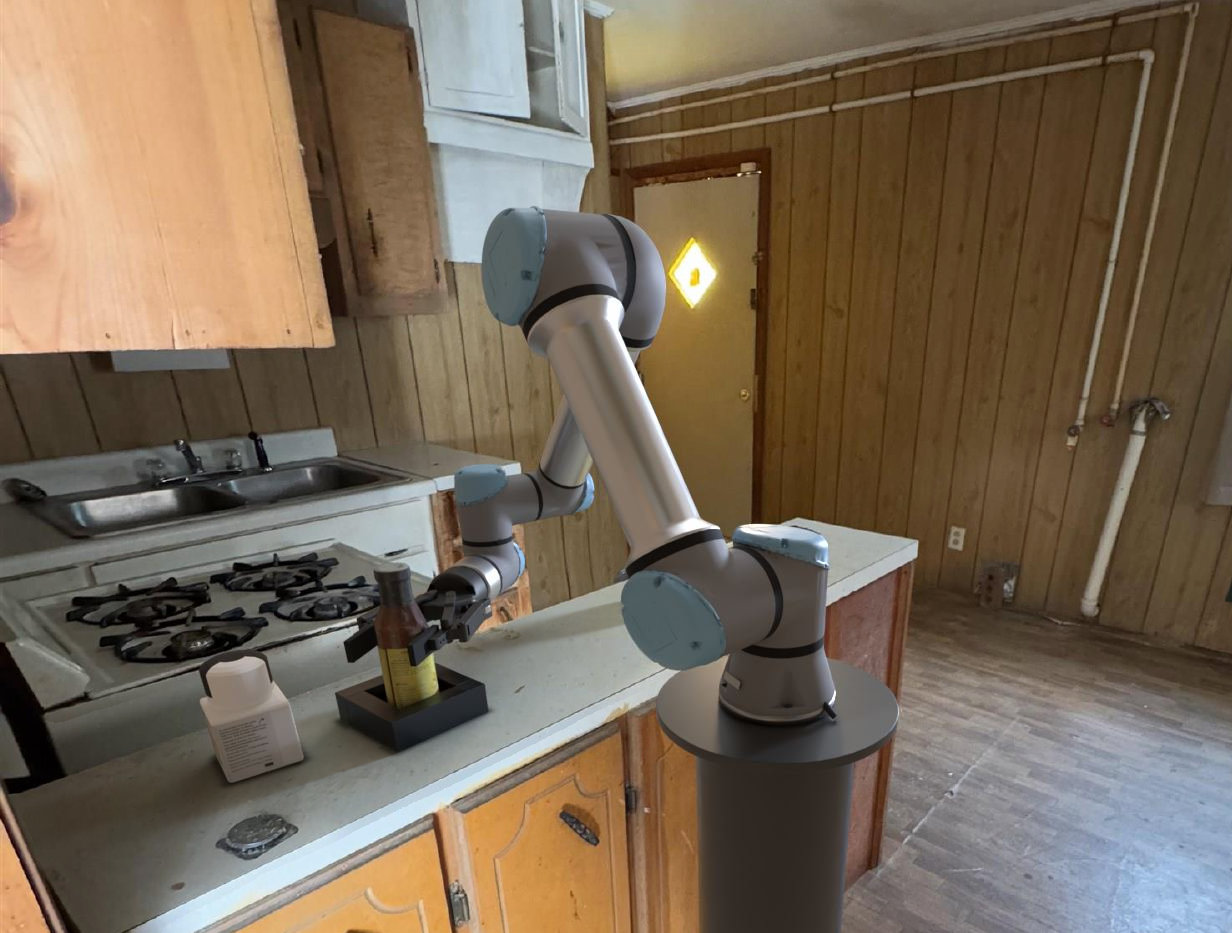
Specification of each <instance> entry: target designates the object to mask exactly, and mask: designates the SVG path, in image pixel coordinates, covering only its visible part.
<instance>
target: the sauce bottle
mask: <svg viewBox="0 0 1232 933" xmlns="http://www.w3.org/2000/svg"><path fill="white" fill-rule="evenodd" d="M372 571H373V578H374V580H375V582H376V583H377V588H378V589H377V590H378V595H379V598H378V600H379V603H380V604H379V606H380V609H379V612H378V614H377V616H376V619H375V622H374V624H375V631H376V635H377V642H378V643H377V646H376V647H377V652H378V658H379V662H380V669H381V673H382V674H381V675H383V679H384V684H385V690H386V695H387V701H388V704H390V705H392V706H394V707H396V708H398V709H401V708H403V707H406V706H408V705H411V704H413V703H416V702H418V701H420V700H423V699H425V698H428V697H430V696H433V695H435V694H437V693H439V687H438V681H437V674H436V668H435V663H436V661H435V656H434V652H433V653H432V654H431V655H429V656H428V657H427V658H426V659H425V660H424V661H422V662H421V663H420V664H419V665H418V666H417V667H414V666H410V661H409V656H408V650H407V644H409V643H410V642H411V641H413V640H414V639H415V638H416V637H418V636H419V635H420V634H421V633H423V632H424V631H425V630H427V629H428V628H429V627H430V625H429V623H427V622H426V620H425V618H424V616H423V614H422V613H421V611H420V609H419V607H418V605H417V603H416V601H415V600H414V598H415V596H414V593H413V588H412V582H411V577H412V571H411V567H410V565H409V564H408V563H406V562H400V561H399V562H398V561H397V562H396V561H395V562H386V563H381V564H378V565H376V566H374V567H373V570H372Z"/></svg>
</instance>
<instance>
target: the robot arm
mask: <svg viewBox="0 0 1232 933" xmlns="http://www.w3.org/2000/svg"><path fill="white" fill-rule="evenodd" d="M481 253H482V254H481V264H480V270H481V271H480V272H481V273H480V274H481V285H482V291H483V295H484V299H485V302H486V306H487V308H488V310H489V312H490V313H491V315H492V317H494V319H495V320H496V321H498V322H500V323H502V324H503V325H507V326H508V327H517V326H519V328H520V330H521V332H522V334H523V336H524V339H525V341H526V343H527V346H528V348H529V350H530V351H531V352H532V353H533V354H534V355H535V356H538V357H540V358H544V359H546V360H548V361H549V363H550V366H551V367H552V369H553V372H554V374H555V377H556V379H557V381H558V383H559V386H560V388H561V390H562V393H563V394H562V397H561V400H560V402H559V406H558V409H557V411H556V415H555V416H554V421H553V423H552V426H551V429H550V432H549V435H548V439H547V440H546V444H545V447H544V449H543V452H542V455H541V458H540V460H539V463H538V465H537V468H536V470H534V471H528V472H521V473H516V474H509V475H507V474H506V470H505V468H504V467H503V466H501V465H498V464H493V463H491V464H490V463H488V464H487V463H484V464H483V463H482V464H471V465H466V466H462V467H460V468H458V469H456V471H455V472H454V475H453V483H454V484H453V486H454V500H455V501H454V502H455V506H456V511H457V516H458V522H459V528H460V534H461V542H462V543H461V544H462V551H463V552H462V553H463V557H462V558H461V559H459V560H457V561H456V562H455V563H453V564H451V565H450V566H449V567H447V568H446V569H444V570H443V571H442V572H440V573H439V574H437V575H436V576H434V578H433V579H432V580H431V581H430V583H429V585H428V587H427V589H426V591H425V592H423V593H421V594H418V595H417V596H416V597H414V600H415V601H416V603H417V605H418V607H419V609H420V611H421V613H422V614H423V616H424V618H425V620H426V622H427V624H429V623H430V622H432V621H434V622H437V621H439V623H440V625H439V624H432V625H429V628H428V629H427V630H425V631H424V632H423V633H421V634H420V635H419V636H418V637H416V638H415V639H414V640H413V641H411V642H410V643H409V644H407V650H408V656H409V661H410V666H414V667H417V666H418V665H419V664H420V663H421V662H422V661H424V660H425V659H426V658H427V657H428V656H429V655H431V654H432V653H433V654H434V652H436V651H440V650H441V649H442V648H443V647H444V646H446V645H449V644H450V645H451V644H453V643H454V640H455V641H456V640H458V642H459V643H463V644H465V643H468V642H469V641H470V640H471V639H472V637H473V636H474V635H475V633H477V631H478V630H479V628H480V627H481V626H482V624H483V623H484V622H485V621H486V620H488V619H490V618H492V617H493V608H492V602H493V601H494V600H495V599H496V598H498V597H499V596H500V595H502V594H503V593H504V592H506V591H507V590H508V589H509V588H512V587H513V585H515V584H516V582H517V581H518V579H519V578H520V576H521V575H522V574H523V572H524V569H525V567H526V558H525V554H524V553H523V551H522V549H521V548H520V546H519V545H518V544H517V543H516V542H515V541H514V536H513V535H514V534H513V526H518V525H522V524H528V523H533V522H536V521H542V520H548V519H553V518H558V517H562V516H563V517H565V516H572V515H574V514H576V513H578V512H582V511H585V510H587V509H588V508H589V507H591V505H592V504H593V502H594V499H595V495H594V491H595V484H594V480H593V477H592V476H591V474H590V471H591V468H592V466H593V465H594V467H595V469H596V472H597V473H598V476H599V478H600V481H601V483H602V485H603V487H604V490H605V492H606V495H607V497H608V499H609V502H610V504H611V506H612V508H613V510H614V513H615V515H616V517H617V520H618V522H619V526H620V527H621V529H622V531H623V534H624V536H625V539H626V541H627V543H628V545H629V548H630V552H629V554H628V557H627V560H626V562H625V564H624V570H625V573H626V575H627V577H628V580H627V581H626V582H625V583H624V585H623V587H622V589H621V594H620V603H621V604H622V605H623V606H622V608H621V609H620V611H621V616H622V620H623V623H624V625H625V628H626V631H627V633H628V635H629V636H630V638H631V640H632V641H633V643H634V644H635V645H636V647H637V648H638V650H639V651H640V652H642V654H643V655H645V657H647V658H648V659H649V660H650V661H652V662H653V663H657V664H658V665H659V666H660V667H662V668H664V669H667V670H669V671H670V670H671V671H678V672H680V671H682V670H688V669H691V668H694V667H697V666H700V665H708V664H710V663H712V662H715V661H717V660H718V659H720V658H722V657H724V656H726V655H729V654H730V655H729V658H728V660H727V663H726V666H725V669H724V672H723V674H722V677H721V680H720V685H719V703H720V706H721V707H722V708H723V710H724V711H725V712H726V713H728V714H729V715H731V716H732V717H734V718H736V719H738V720H741V721H744V722H747V723H750V724H754V725H759V726H766V727H794V726H801V725H805V724H809V723H812V722H815V721H818V720H820V719H822V718H824V717H825V716H827V715H829V716H830V717H831V719H834V718H835V717H836V716H837V714H836V713H835V712H834V710H833V707H834V703H835V687H834V683H833V680H832V677H831V673H830V669H829V665H828V662H827V658H828V657H827V655H826V652H825V648H824V647H825V646H824V645H825V630H826V629H825V628H826V616H827V614H826V612H827V598H828V583H829V582H828V579H829V570H830V568H831V566H830V565H829V544H828V542H827V540H826V539H825V538H824V536H822V535H821V534H819V533H816V532H815V531H812V530H809V529H804V528H800V527H795V526H788V525H779V524H767V523H752V524H751V523H749V524H742V525H739V526H737V527H735V529H734V530H733V536H732V537H731V542H732V546H731V547H729V546H728V544H727V542H726V539H725V537H724V534H723V533H722V530H721V528H720V527H719V526H718V525H716V524H714V523H710V522H708V521H706V520H704V519H703V518H701V516H700V514H699V511H698V509H697V507H696V505H695V503H694V500H693V498H692V496H691V493H690V491H689V488H688V487H687V486H688V485H687V484H686V482H685V480H684V477H683V474H682V473H681V470H680V467H679V466H678V463H677V461H676V458H675V456H674V454H673V452H672V450H671V447H670V445H669V443H668V440H667V438H666V436H665V434H664V433H665V432H664V431H663V429H662V426H661V424H660V422H659V420H658V417H657V415H656V413H655V410H654V408H653V405H652V404H651V401H650V399H649V397H648V394H647V393H646V389H645V387H644V385H643V383H642V380H641V378H640V376H639V374H638V371H637V369H636V367H635V364H636V362H637V360H638V358H639V355H640V353H641V351H643V350H646V349H649V348H650V347H651V346H652V344H653V343H654V339H655V337H656V336H657V333H658V330H659V328H660V325H661V323H662V320H663V315H664V310H665V307H666V296H667V295H666V294H667V281H666V280H667V279H666V273H665V268H664V264H663V261H662V258H661V255H660V253H659V250H658V248H657V247H656V245H655V243H654V242H653V240H652V239H651V238H650V237H649V235H648V234H647V233H646V231H645V230H644V229H642V227H640V226H639V225H637V224H636V223H635V222H633V221H631V220H630V219H628V218H625V217H623V216H619V215H615V214H609V213H603V214H602V213H601V214H599V213H589V212H580V211H579V212H578V211H569V210H566V211H565V210H557V209H549V208H548V209H547V208H541V207H539V206H536V205H532V206H530V207H506V208H505V209H502V210H501V211H500V212H498V213H497V215H496V216H495V217H494V218H493V219H492V221H491V223H490V224H489V226H488V229H487V230H486V234H485V237H484V241H483V244H482V252H481ZM379 609H380V605H378V606H377V607H375V608H373V609H371V610H369V611H367V612H364V613H363V614H361V615H359V616H357V617H356V618H355V619H356V623H357V624H356V625H357V628H358V630H357V631H355V632H353V634H352V635H351V636H349V637H348V638H346V639H345V640H343V643H342V644H343V647H344V651H345V656H346V661H347V664H348V663H349V664H354V663H356V662H357V661H359V660H360V659H361V658H363V657H364V656H365V655H367V654H368V653H370V652H371V651H373V649H375V648H376V647H377V643H378V642H377V635H376V631H375V624H374V622H375V619H376V616H377V614H378V612H379ZM826 657H827V658H826Z"/></svg>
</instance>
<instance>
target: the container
mask: <svg viewBox="0 0 1232 933" xmlns="http://www.w3.org/2000/svg"><path fill="white" fill-rule="evenodd" d="M198 673H199V677H200V679H201V683H202V686H203V689H204V693H205V696H206V697H201V698H200V699H199V705H200V708H201V711H202V715H203V718H204V721H205V724H206V727H207V731H208V734H209V737H210V741H211V744H212V747H213V750H214V753H215V756H216V758H217V761H218V762H219V765H220V767H221V769H222V771H223V774H224V776H225V777H226V779H227V781H228V783H230V784H234V783H236V782H240V781H243V780H246V779H249V778H252V777H255V776H259V775H262V774H264V773H268V772H271V771H275V770H277V769H278V770H279V769H281V768H284V767H287V766H291V765H293V764H295V763H299V762H302V761H303V760H304V757H305V756H304V753H303V749H302V745H301V741H300V736H299V734H298V733H299V732H298V730H297V729H298V728H297V725H296V721H295V717H294V714H293V710H292V707H291V703H290V701H289V700H288V699H287V697H286V696H285V695H284V693H283V692H282V689H280V688H279V686H278V685H277V683H276V682H275V681H274V679H273V675H272V671H271V666H270V663H269V660H268V657H267V655H266V654H264V653H263V652H261V651H259V650H254V649H253V650H252V649H235V650H229V651H224V652H221V653H219V654H216V655H214V656H212V657H210V658H208V659H207V660H205V661H204V662H202V664H201V665H200V667H199V668H198Z"/></svg>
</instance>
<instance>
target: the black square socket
mask: <svg viewBox="0 0 1232 933" xmlns="http://www.w3.org/2000/svg"><path fill="white" fill-rule="evenodd" d="M435 668H436V674H437V681H438V687H439V693H437V694H435V695H433V696H430V697H428V698H425V699H423V700H420V701H418V702H416V703H413V704H411V705H408V706H406V707H403V708H401V709H398V708H396V707H394V706H392V705H390V704H388V701H387V695H386V690H385V684H384V679H383V674H381V675H378V676H375V677H373V678H371V679H368V680H365V681H362V682H359V683H356V684H353V685H351V686H348V687H346V688H343V689H340V690H337V691H335V692H334V696H335V700H336V705H337V710H338V713H339V718H340V721H341V722H343V723H344V724H347V725H348V726H350V727H351V728H353V729H356V730H357V731H359V732H361V733H362V734H365V735H366V736H368V737H370V738H371V739H373V740H375V741H377V742H378V743H380V744H382V745H384V746H386V747H387V748H389V749H390V750H393V751H394V752H395V753H401V752H402V751H405V750H407V749H409V748H412V747H413V746H416V745H418V744H421V743H422V742H424V741H426V740H429V739H431V738H433V737H436V736H438V735H440V734H442V733H444V732H447V731H449V730H451V729H454V728H455V727H457V726H460V725H462V724H464V723H467V722H469V721H471V720H473V719H475V718H477V717H479V716H481V715H483V714H486V713H488V712H489V704H488V698H487V689H486V684H485V683H484V682H482V681H479V680H477V679H475V678H472V677H469V676H467V675H465V674H463V673H461V672H458V671H457V670H456V671H455V670H454V669H451V668H449V667H446V666H444V665H442V664H439V663H438V662H435Z"/></svg>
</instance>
